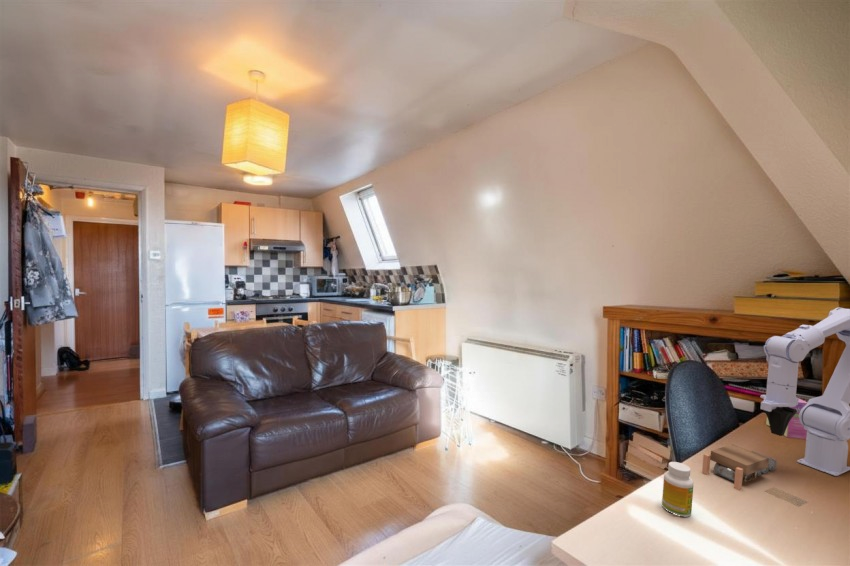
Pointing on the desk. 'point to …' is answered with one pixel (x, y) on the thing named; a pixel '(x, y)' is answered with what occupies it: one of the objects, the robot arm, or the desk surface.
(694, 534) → the desk surface
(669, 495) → the supplement bottle
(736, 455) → the slab
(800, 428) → the box
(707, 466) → the stop posts
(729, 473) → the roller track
